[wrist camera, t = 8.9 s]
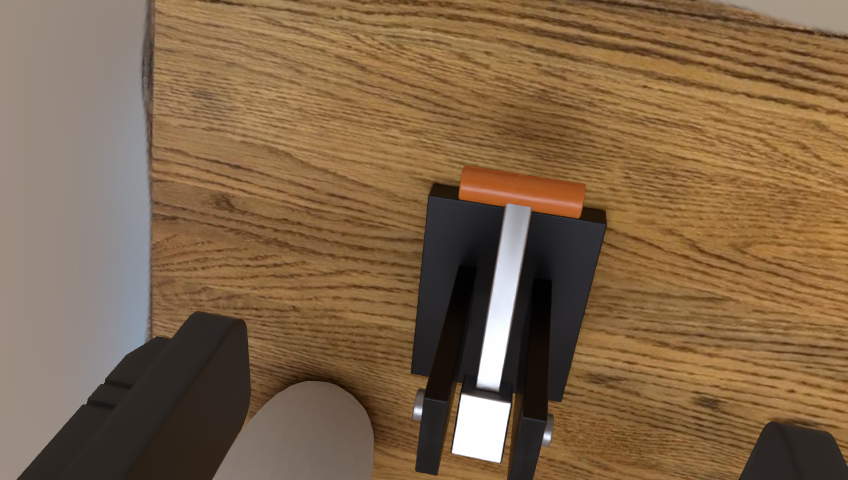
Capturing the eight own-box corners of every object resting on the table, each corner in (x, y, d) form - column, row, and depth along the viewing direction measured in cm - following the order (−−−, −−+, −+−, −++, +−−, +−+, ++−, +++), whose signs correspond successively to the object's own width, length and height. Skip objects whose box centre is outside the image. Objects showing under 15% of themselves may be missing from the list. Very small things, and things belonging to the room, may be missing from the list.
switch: (466, 164, 29) (461, 166, 27) (582, 182, 29) (588, 186, 26) (425, 424, 31) (417, 447, 29) (533, 446, 31) (534, 471, 28)
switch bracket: (433, 183, 36) (380, 312, 25) (605, 210, 35) (621, 357, 24) (415, 357, 42) (366, 518, 32) (561, 385, 41) (559, 561, 31)
